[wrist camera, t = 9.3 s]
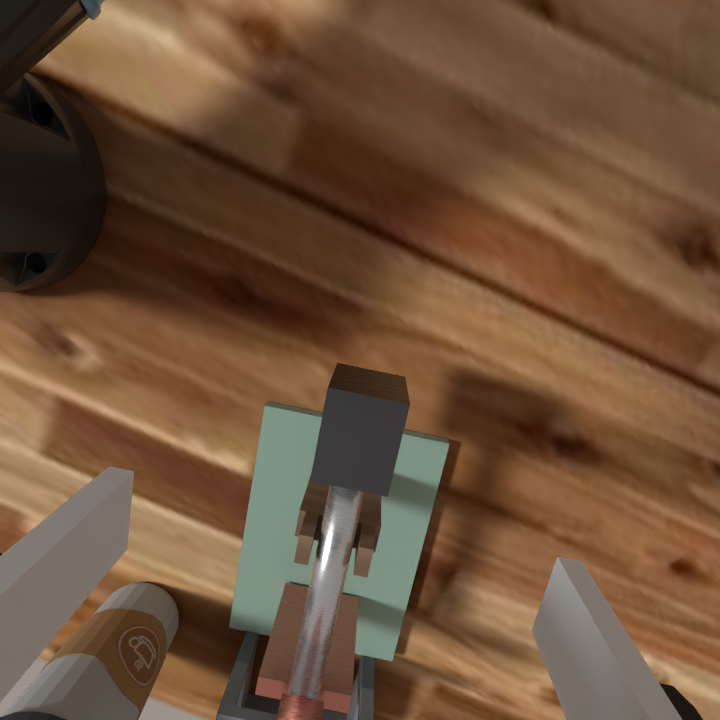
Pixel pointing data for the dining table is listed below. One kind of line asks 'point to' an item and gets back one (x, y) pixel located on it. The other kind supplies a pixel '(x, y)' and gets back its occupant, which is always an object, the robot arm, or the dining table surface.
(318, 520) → the foosball player figure
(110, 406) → the dining table surface
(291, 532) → the mat
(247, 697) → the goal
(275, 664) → the stand
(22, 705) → the coffee cup
